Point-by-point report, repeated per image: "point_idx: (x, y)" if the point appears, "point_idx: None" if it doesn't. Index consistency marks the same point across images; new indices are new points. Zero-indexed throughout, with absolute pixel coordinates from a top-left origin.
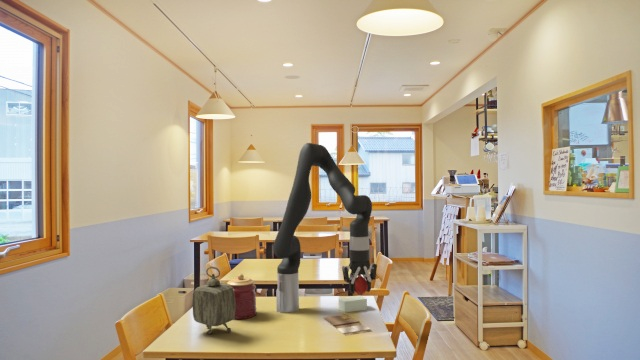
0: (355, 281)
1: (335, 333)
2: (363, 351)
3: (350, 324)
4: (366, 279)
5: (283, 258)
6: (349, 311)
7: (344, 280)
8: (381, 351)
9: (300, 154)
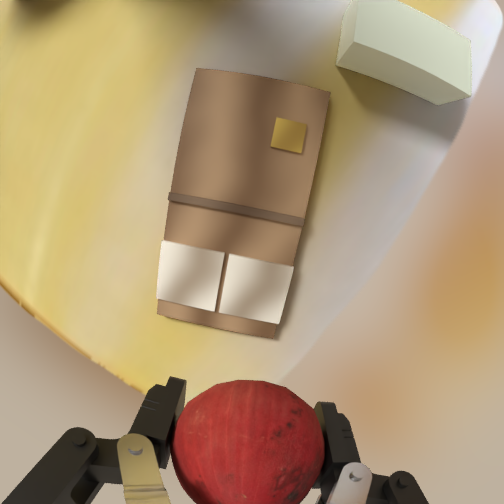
0: (180, 483)
1: (152, 246)
2: None
3: (249, 222)
4: (334, 484)
5: None
6: (363, 69)
7: (68, 439)
8: None
9: None
